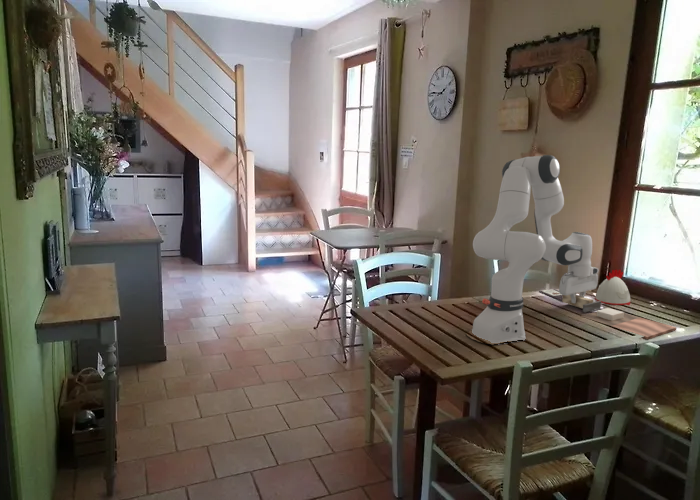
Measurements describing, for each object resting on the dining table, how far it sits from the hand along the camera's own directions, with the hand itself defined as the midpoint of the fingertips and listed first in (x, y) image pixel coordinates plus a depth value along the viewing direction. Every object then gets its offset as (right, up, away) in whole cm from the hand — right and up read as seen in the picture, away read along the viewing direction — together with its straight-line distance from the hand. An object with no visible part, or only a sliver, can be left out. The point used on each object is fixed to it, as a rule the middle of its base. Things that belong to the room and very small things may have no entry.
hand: (577, 302), depth 222 cm
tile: (+8, -5, -13) cm, 15 cm away
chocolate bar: (0, 0, +21) cm, 21 cm away
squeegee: (0, -2, 0) cm, 2 cm away
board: (+11, -7, -19) cm, 23 cm away
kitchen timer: (+19, -1, +9) cm, 21 cm away
